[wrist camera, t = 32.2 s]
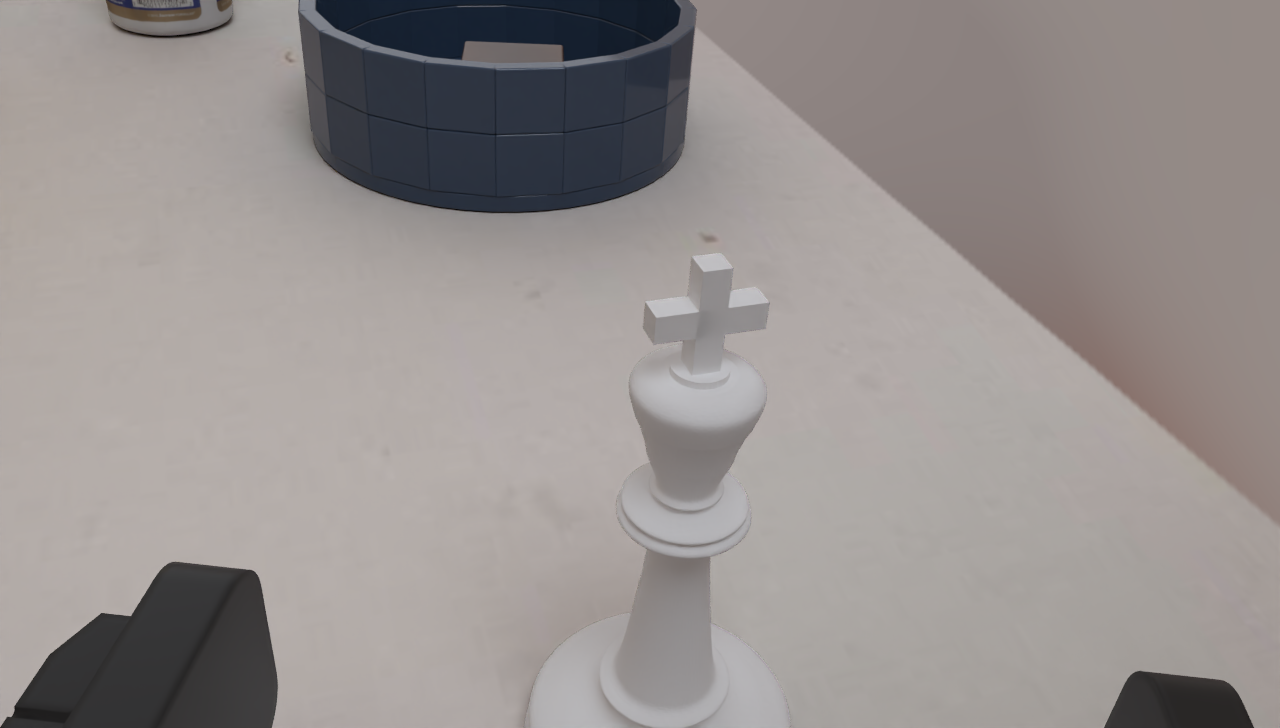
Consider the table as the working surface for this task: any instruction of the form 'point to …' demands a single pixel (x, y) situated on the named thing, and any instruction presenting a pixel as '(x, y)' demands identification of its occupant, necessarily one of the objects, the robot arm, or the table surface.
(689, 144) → the table surface
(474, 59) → the block
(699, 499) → the chess piece
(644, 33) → the bowl
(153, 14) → the pill bottle
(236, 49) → the table surface
